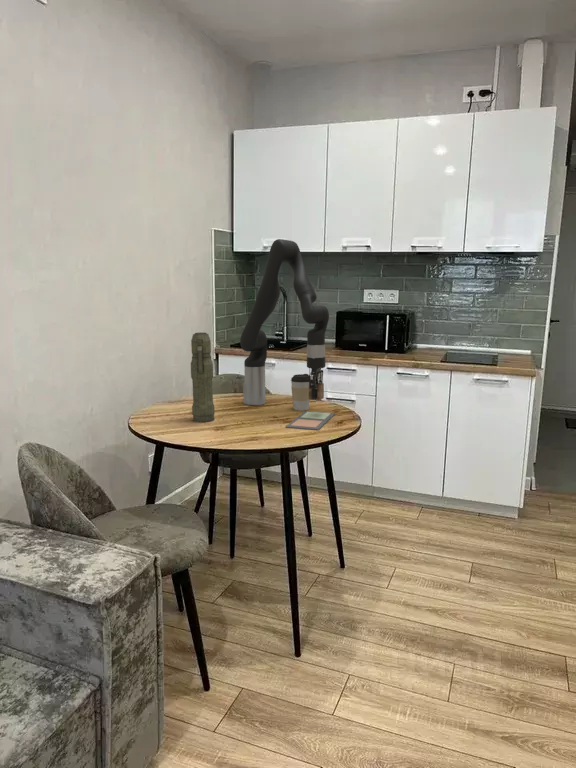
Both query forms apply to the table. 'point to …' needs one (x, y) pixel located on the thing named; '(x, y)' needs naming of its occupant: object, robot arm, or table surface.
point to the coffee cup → (300, 392)
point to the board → (311, 420)
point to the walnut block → (318, 392)
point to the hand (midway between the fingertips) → (316, 397)
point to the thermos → (202, 378)
